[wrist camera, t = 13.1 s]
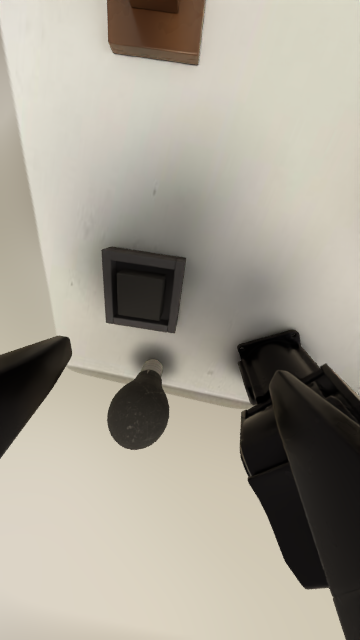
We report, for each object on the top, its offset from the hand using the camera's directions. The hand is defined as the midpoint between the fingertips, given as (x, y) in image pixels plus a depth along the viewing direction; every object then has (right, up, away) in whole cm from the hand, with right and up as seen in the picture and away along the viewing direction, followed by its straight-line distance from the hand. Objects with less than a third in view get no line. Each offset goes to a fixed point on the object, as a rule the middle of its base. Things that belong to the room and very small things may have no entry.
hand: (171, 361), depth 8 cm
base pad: (-3, +5, +11) cm, 13 cm away
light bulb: (-3, -4, +16) cm, 17 cm away
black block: (-3, +5, +10) cm, 12 cm away
